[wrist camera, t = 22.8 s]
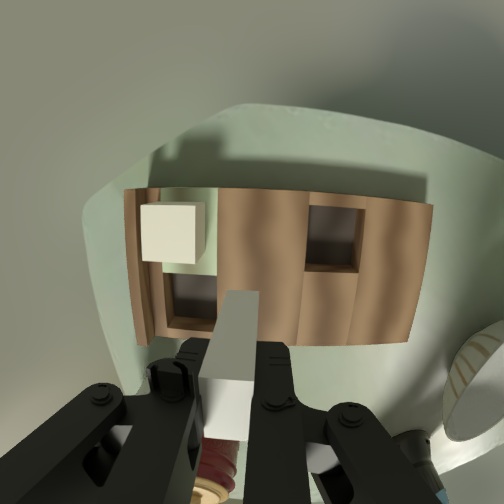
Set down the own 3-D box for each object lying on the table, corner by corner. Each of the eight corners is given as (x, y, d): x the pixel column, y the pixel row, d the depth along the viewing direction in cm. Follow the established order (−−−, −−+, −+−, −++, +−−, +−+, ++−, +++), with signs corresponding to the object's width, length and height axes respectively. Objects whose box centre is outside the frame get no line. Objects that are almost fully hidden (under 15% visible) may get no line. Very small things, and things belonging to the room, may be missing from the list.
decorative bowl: (424, 322, 40) (462, 361, 28) (521, 278, 37) (559, 298, 25) (414, 422, 46) (434, 460, 34) (501, 376, 43) (526, 403, 31)
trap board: (419, 202, 35) (445, 207, 28) (397, 329, 40) (415, 352, 33) (147, 187, 36) (124, 189, 30) (154, 321, 41) (137, 344, 34)
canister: (205, 405, 45) (185, 484, 28) (253, 439, 47) (249, 513, 30) (163, 428, 48) (138, 494, 30) (209, 458, 50) (196, 522, 32)
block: (205, 202, 33) (195, 205, 28) (204, 252, 34) (195, 264, 29) (157, 201, 33) (140, 205, 28) (158, 249, 34) (142, 260, 29)
